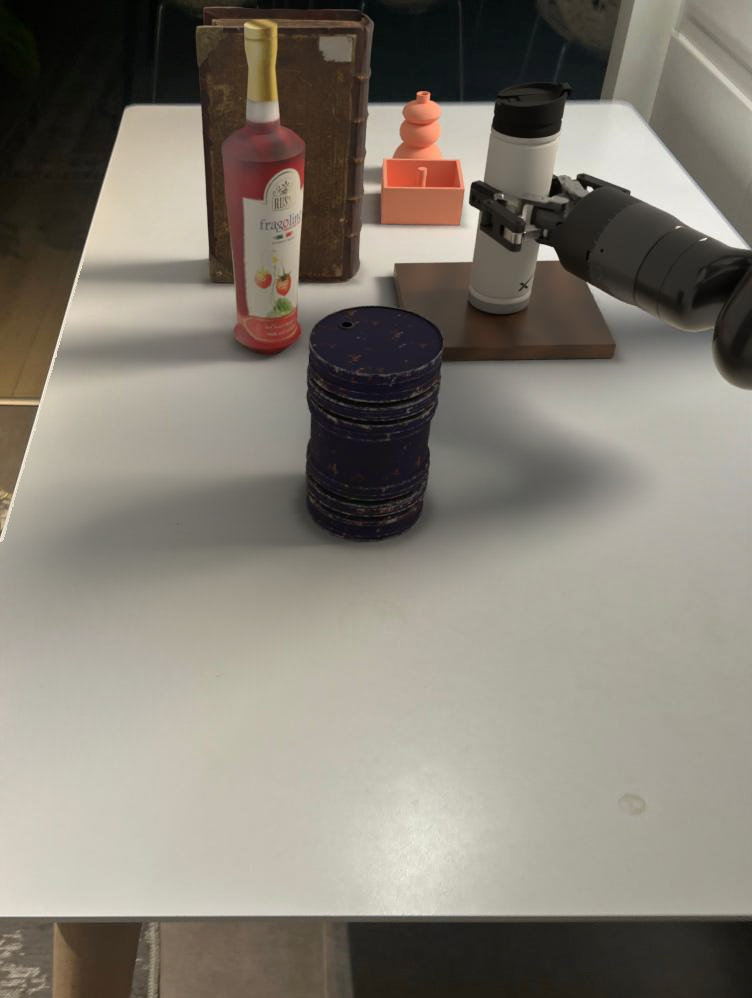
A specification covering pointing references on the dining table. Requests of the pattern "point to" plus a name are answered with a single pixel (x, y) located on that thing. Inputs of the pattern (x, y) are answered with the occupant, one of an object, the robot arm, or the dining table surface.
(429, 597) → the dining table surface
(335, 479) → the dark blue cylinder
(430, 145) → the pottery
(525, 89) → the travel mug
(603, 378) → the dining table surface
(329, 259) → the book
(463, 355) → the walnut board
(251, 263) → the liquor
